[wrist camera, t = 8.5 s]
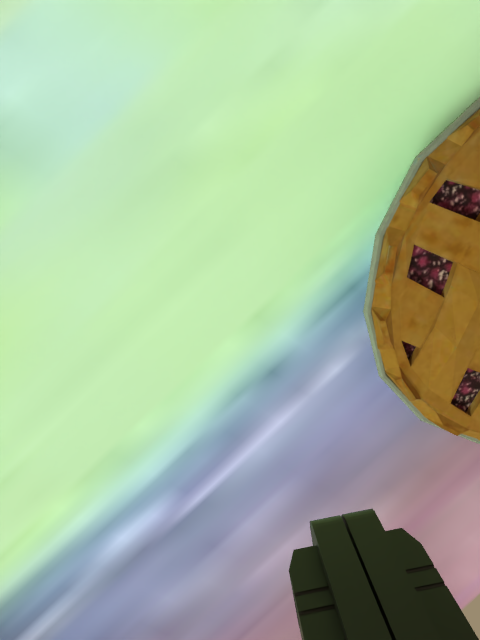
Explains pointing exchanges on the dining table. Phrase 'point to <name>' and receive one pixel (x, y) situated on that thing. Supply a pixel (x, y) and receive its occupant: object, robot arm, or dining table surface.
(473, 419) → the pie
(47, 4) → the dining table surface
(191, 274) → the dining table surface
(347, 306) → the dining table surface
